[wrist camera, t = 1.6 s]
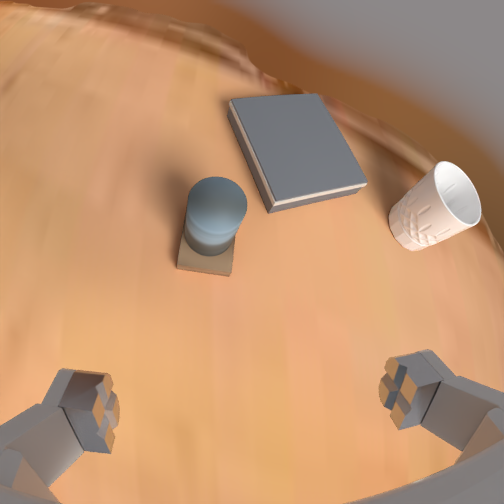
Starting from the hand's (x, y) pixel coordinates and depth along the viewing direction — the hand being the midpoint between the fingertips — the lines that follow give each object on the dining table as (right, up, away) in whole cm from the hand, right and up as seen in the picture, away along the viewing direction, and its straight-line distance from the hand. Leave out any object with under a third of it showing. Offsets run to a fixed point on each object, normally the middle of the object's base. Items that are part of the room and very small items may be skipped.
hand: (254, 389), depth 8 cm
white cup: (+20, +7, +30) cm, 37 cm away
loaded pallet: (-4, +5, +23) cm, 24 cm away
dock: (+5, +16, +29) cm, 34 cm away
